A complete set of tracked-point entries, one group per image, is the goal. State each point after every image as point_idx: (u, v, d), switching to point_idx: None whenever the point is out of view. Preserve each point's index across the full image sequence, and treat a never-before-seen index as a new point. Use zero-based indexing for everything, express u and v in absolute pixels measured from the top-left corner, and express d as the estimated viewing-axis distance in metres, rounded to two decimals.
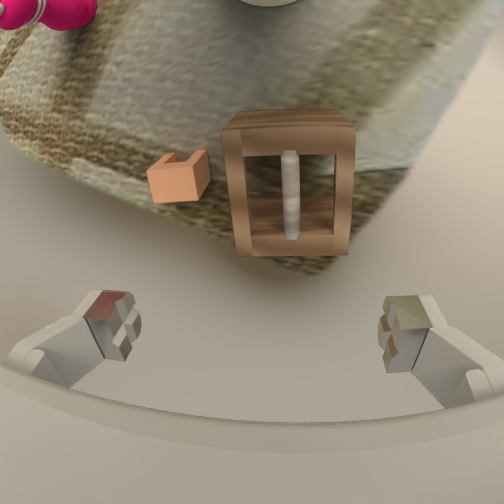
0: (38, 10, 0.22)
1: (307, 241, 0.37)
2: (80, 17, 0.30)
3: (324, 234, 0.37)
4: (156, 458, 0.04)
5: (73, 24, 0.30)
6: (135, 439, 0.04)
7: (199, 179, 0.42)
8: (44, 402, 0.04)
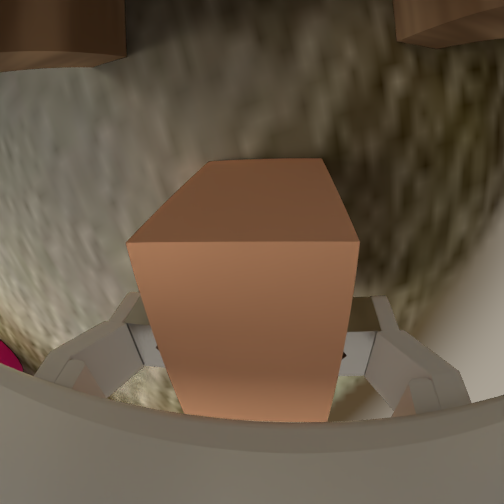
0: None
1: None
2: None
3: None
4: (156, 458, 0.04)
5: None
6: (135, 439, 0.04)
7: (255, 205, 0.08)
8: (45, 402, 0.04)
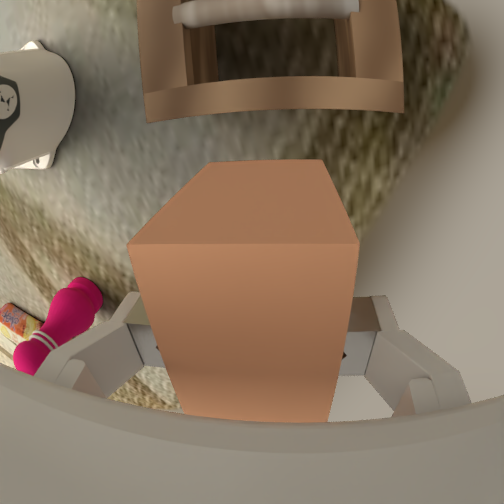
0: (41, 339, 0.31)
1: None
2: (80, 296, 0.39)
3: None
4: (156, 458, 0.04)
5: (86, 304, 0.39)
6: (135, 439, 0.04)
7: (255, 207, 0.08)
8: (45, 402, 0.04)
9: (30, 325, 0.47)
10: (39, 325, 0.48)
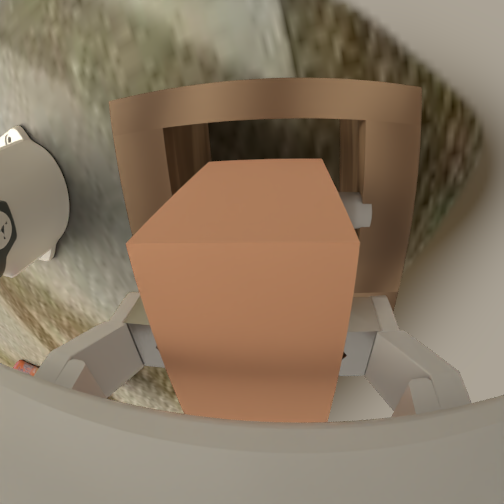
0: None
1: (379, 181, 0.15)
2: None
3: (365, 141, 0.14)
4: (156, 458, 0.04)
5: None
6: (135, 439, 0.04)
7: (255, 206, 0.08)
8: (44, 402, 0.04)
9: None
10: None
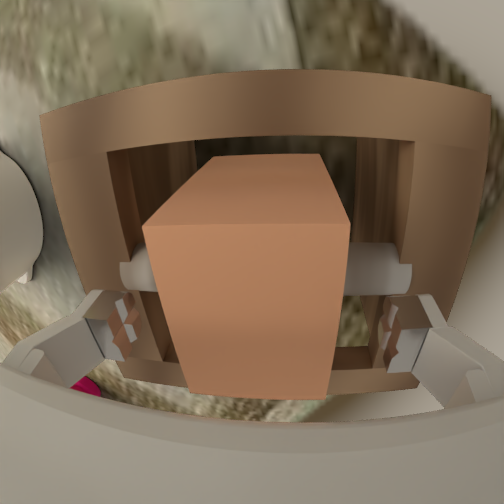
0: None
1: (426, 233, 0.09)
2: None
3: (411, 173, 0.09)
4: (156, 458, 0.04)
5: None
6: (135, 439, 0.04)
7: (257, 194, 0.09)
8: (44, 402, 0.04)
9: None
10: None
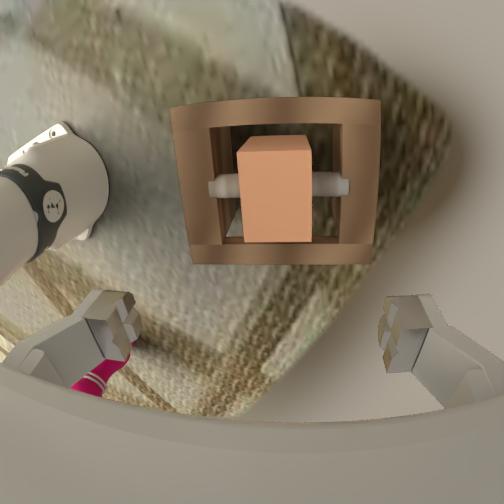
0: (92, 379, 0.42)
1: (353, 163, 0.22)
2: None
3: (342, 137, 0.22)
4: (156, 458, 0.04)
5: None
6: (135, 439, 0.04)
7: (277, 145, 0.22)
8: (45, 402, 0.04)
9: None
10: None
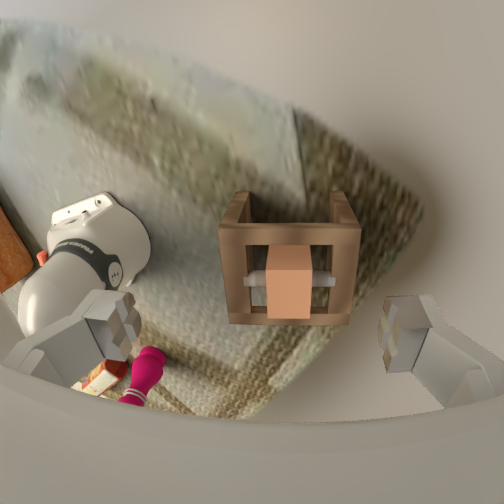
0: (136, 395, 0.55)
1: (339, 268, 0.35)
2: (155, 362, 0.62)
3: (333, 252, 0.35)
4: (156, 458, 0.04)
5: (159, 367, 0.63)
6: (135, 439, 0.04)
7: (291, 260, 0.35)
8: (44, 402, 0.04)
9: (92, 371, 0.71)
10: (96, 366, 0.72)
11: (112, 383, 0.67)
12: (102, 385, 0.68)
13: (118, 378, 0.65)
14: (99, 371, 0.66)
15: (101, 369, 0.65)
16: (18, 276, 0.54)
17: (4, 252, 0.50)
